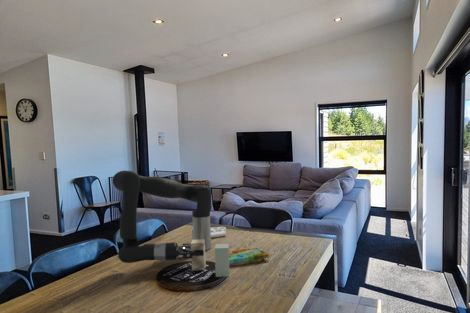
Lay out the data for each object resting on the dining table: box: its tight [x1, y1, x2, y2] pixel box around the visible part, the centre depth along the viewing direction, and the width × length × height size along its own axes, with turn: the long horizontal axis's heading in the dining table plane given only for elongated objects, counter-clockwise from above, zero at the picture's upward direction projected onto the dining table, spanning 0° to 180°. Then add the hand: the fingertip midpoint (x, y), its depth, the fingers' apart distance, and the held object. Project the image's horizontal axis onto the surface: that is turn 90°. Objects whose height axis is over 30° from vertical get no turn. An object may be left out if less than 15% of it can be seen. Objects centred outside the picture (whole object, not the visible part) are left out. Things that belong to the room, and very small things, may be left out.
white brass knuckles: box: [210, 226, 227, 239], centre depth 204 cm, size 3×18×15 cm
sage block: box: [214, 243, 230, 278], centre depth 142 cm, size 6×6×12 cm
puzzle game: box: [229, 246, 270, 267], centre depth 159 cm, size 12×5×20 cm
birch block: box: [190, 239, 207, 271], centre depth 150 cm, size 6×6×12 cm
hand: (204, 250), depth 150 cm, fingers open, 6 cm apart
